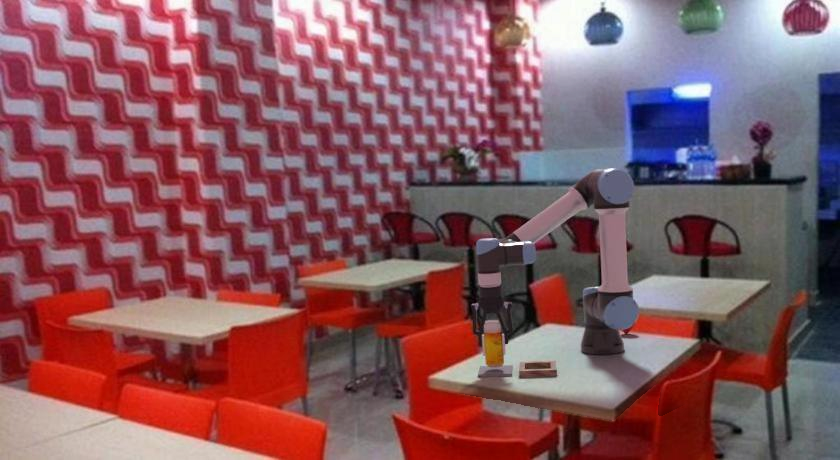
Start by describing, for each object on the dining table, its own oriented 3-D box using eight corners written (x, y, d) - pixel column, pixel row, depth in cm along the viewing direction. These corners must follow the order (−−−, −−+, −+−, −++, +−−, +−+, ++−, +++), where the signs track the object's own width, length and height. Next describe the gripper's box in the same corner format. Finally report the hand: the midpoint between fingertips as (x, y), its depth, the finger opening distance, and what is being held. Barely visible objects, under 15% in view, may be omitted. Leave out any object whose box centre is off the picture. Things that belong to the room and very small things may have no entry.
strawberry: (619, 331, 306) (618, 306, 305) (638, 332, 301) (637, 307, 301) (614, 334, 301) (612, 309, 300) (633, 335, 297) (632, 310, 296)
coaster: (512, 367, 262) (512, 365, 262) (511, 376, 251) (511, 373, 251) (480, 368, 264) (480, 366, 264) (477, 377, 253) (477, 374, 253)
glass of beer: (503, 367, 254) (500, 322, 253) (484, 368, 255) (481, 323, 254) (504, 363, 260) (502, 319, 259) (486, 363, 261) (484, 319, 260)
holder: (556, 366, 259) (555, 360, 259) (557, 375, 248) (556, 369, 247) (520, 367, 261) (519, 361, 261) (519, 377, 249) (519, 371, 249)
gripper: (519, 282, 258) (523, 350, 259) (462, 284, 261) (467, 352, 262) (518, 285, 250) (522, 356, 252) (460, 288, 253) (465, 357, 255)
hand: (494, 354), depth 257 cm, fingers closed on glass of beer, 6 cm apart
